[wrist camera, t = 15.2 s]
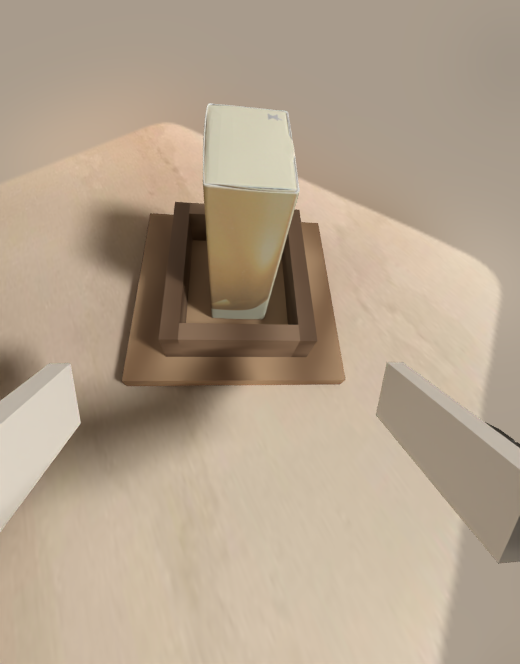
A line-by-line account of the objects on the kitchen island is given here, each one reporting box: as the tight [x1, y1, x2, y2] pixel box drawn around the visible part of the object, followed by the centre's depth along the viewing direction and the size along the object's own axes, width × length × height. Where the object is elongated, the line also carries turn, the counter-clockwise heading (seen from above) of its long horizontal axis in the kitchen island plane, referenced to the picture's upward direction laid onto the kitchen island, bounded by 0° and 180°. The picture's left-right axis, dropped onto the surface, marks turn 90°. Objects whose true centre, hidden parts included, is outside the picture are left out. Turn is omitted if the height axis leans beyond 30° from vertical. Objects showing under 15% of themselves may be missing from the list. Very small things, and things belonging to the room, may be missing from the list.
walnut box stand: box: [122, 202, 345, 386], centre depth 24 cm, size 16×16×4 cm
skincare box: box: [203, 104, 300, 319], centre depth 19 cm, size 6×4×12 cm
